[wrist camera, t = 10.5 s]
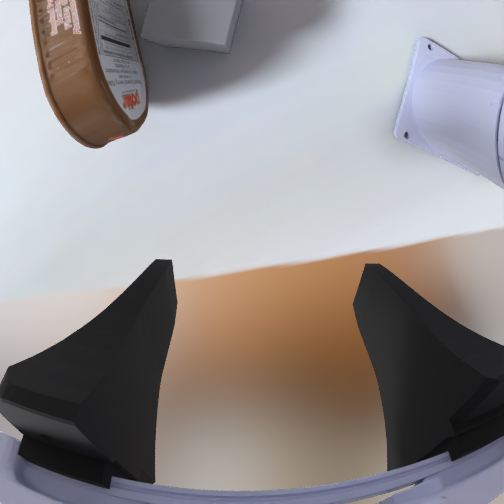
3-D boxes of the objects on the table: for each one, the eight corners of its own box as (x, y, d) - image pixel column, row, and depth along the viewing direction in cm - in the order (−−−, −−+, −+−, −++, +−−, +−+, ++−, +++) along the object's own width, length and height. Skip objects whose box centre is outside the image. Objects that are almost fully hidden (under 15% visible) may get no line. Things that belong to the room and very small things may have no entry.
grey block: (243, -2, 13) (244, -28, 9) (229, 53, 15) (225, 44, 11) (179, -9, 12) (159, -34, 8) (165, 46, 15) (140, 37, 10)
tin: (85, -44, 9) (18, -77, 2) (126, -63, 9) (71, -111, 2) (124, 133, 17) (57, 174, 10) (167, 119, 17) (117, 149, 10)
